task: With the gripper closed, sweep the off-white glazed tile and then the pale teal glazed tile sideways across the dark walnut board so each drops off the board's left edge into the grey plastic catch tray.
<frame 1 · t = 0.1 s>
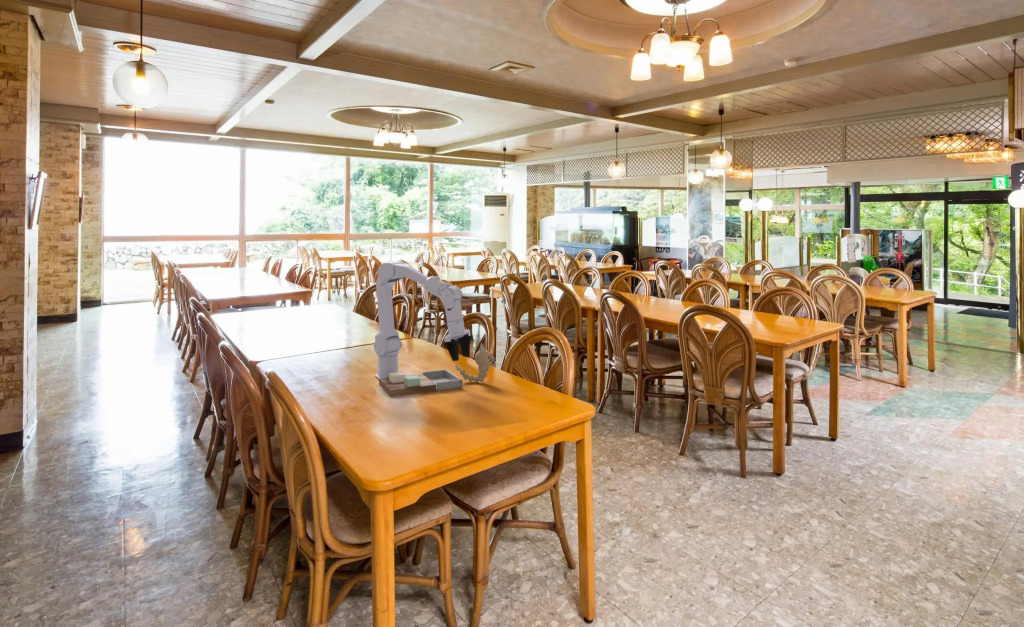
hand: (461, 358, 206), 11 cm above the table, tool pointing down, fingers open, 7 cm apart
tray: (442, 383, 212), on the table
board: (407, 387, 207), on the table
tile a: (397, 380, 207), point 2 cm above the table, touching board
tile b: (412, 384, 202), point 2 cm above the table, touching board
toy: (475, 383, 214), on the table
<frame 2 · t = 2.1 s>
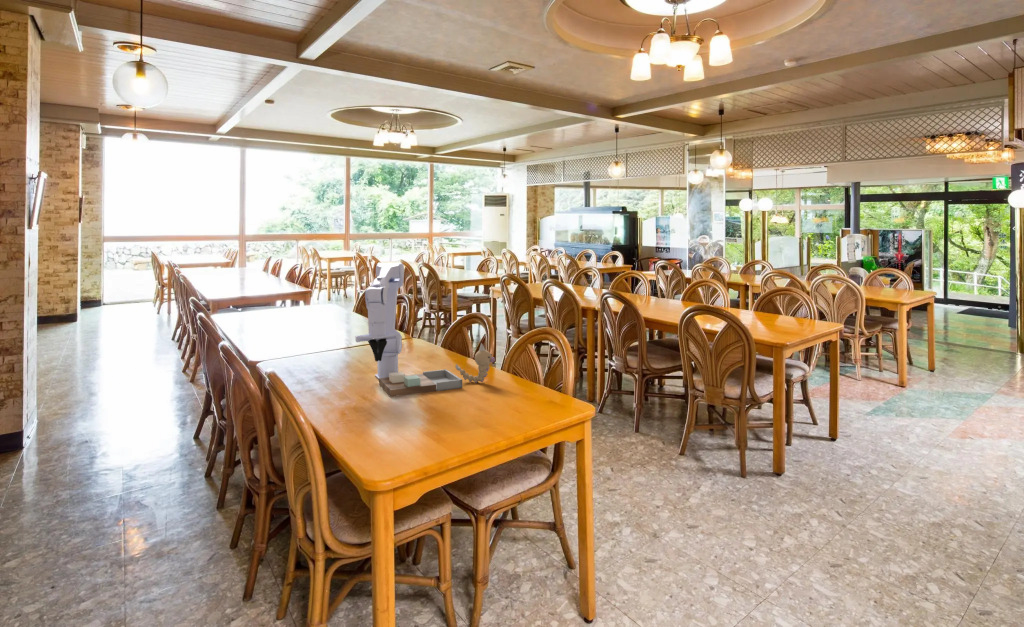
hand: (378, 360, 203), 10 cm above the table, tool pointing down, fingers closed
nothing on the table moved.
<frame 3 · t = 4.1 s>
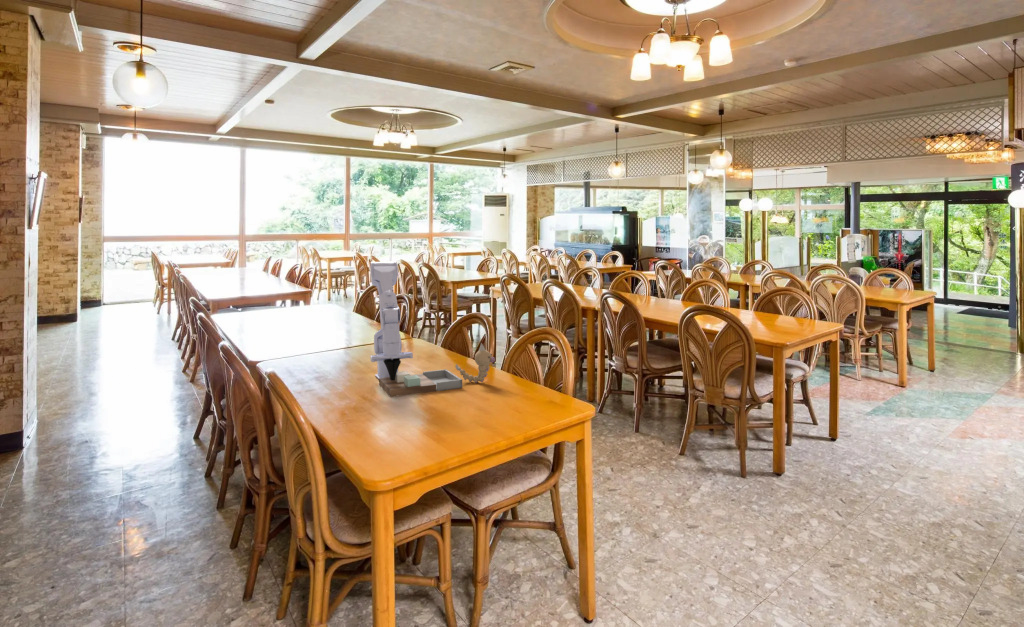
hand: (392, 379, 206), 3 cm above the table, tool pointing down, fingers closed
tile a: (402, 380, 208), point 2 cm above the table, touching gripper
everything else where it was.
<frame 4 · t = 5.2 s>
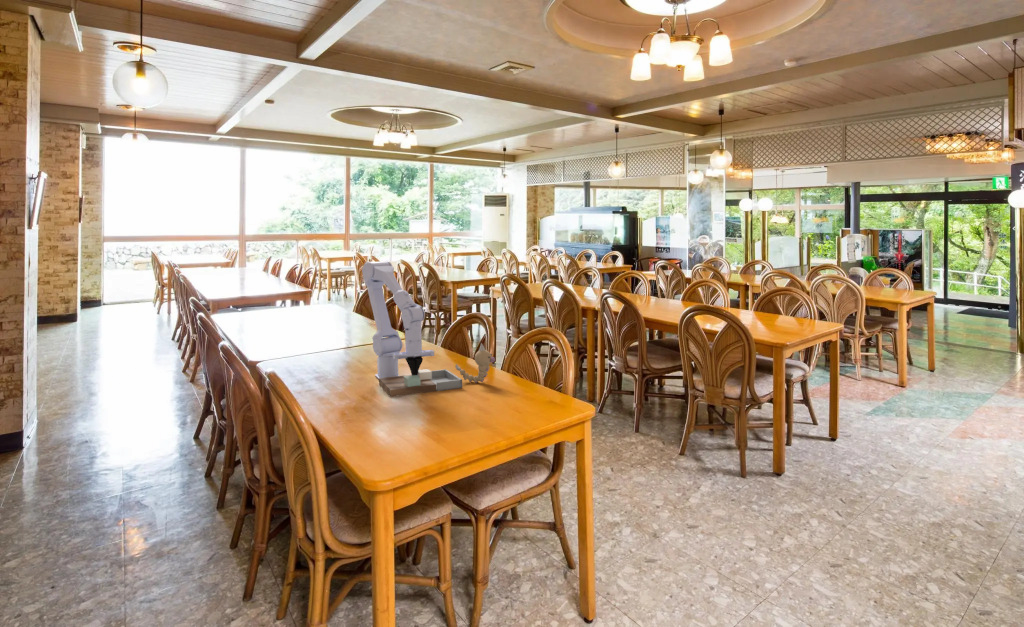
hand: (414, 377, 210), 3 cm above the table, tool pointing down, fingers closed
tile a: (423, 377, 211), point 2 cm above the table, touching gripper
everything else where it was.
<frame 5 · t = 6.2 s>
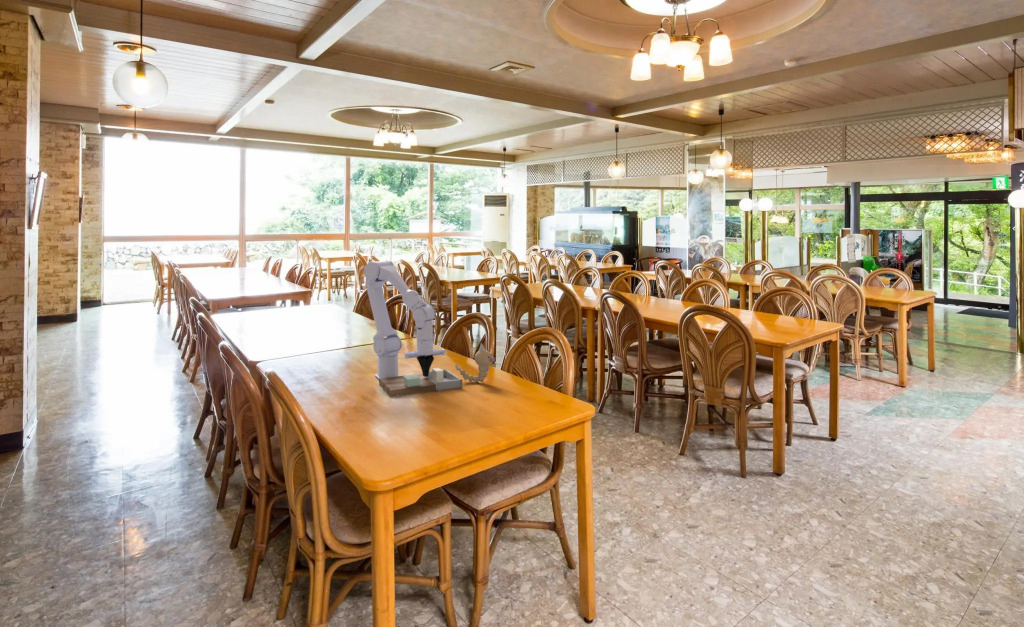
hand: (425, 376, 211), 3 cm above the table, tool pointing down, fingers closed
tile a: (434, 376, 213), point 3 cm above the table, tilted 90°, touching tray
everything else where it was.
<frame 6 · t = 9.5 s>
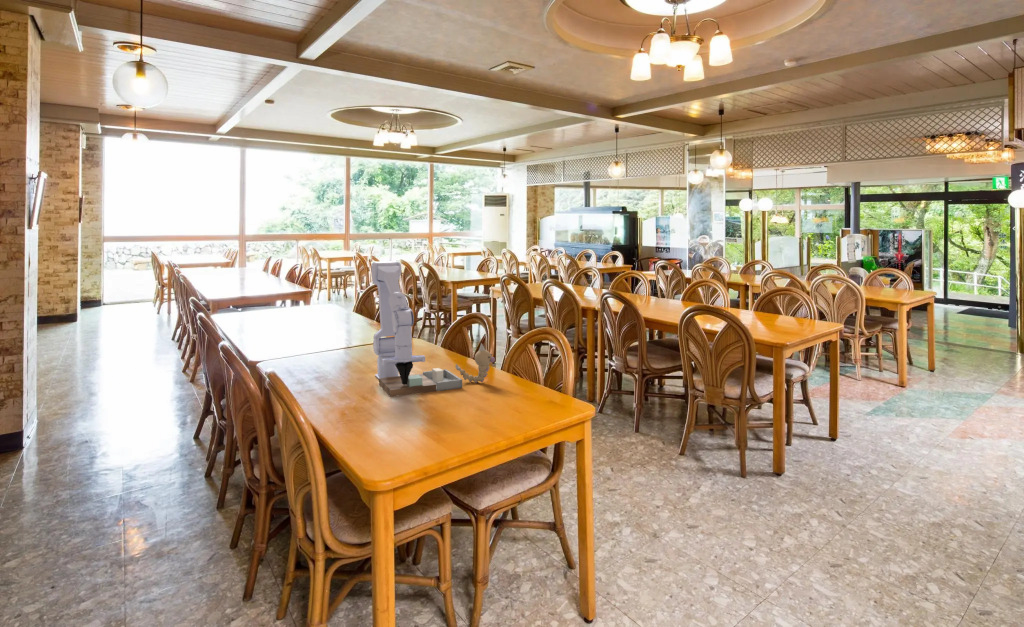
hand: (404, 383, 201), 3 cm above the table, tool pointing down, fingers closed
tile b: (414, 384, 203), point 2 cm above the table, touching gripper
everything else where it was.
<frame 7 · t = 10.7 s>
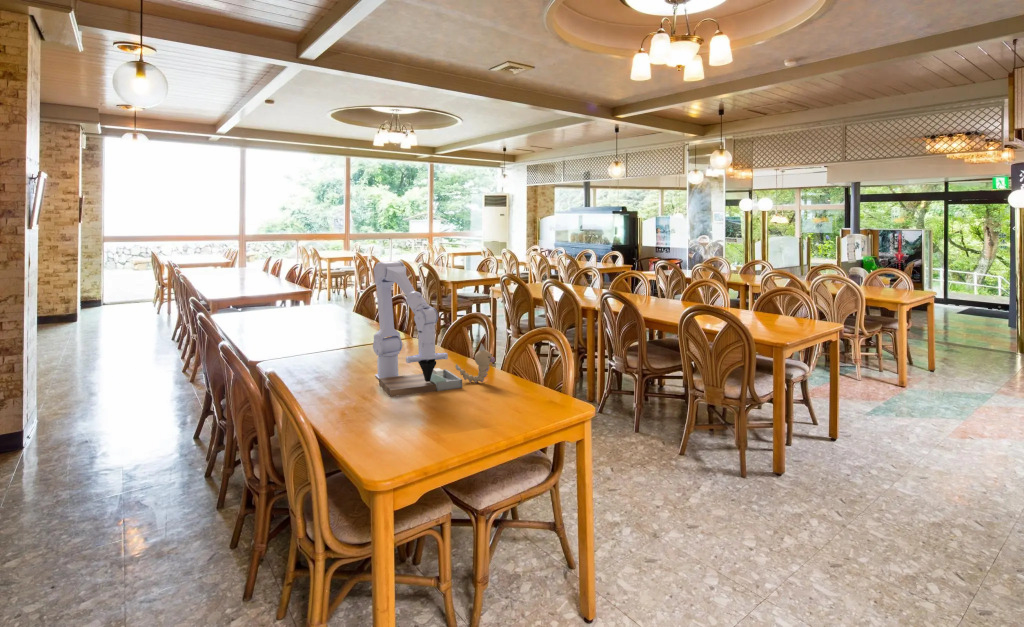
hand: (427, 380, 205), 3 cm above the table, tool pointing down, fingers closed
tile b: (435, 382, 206), point 2 cm above the table, tilted 29°
everything else where it was.
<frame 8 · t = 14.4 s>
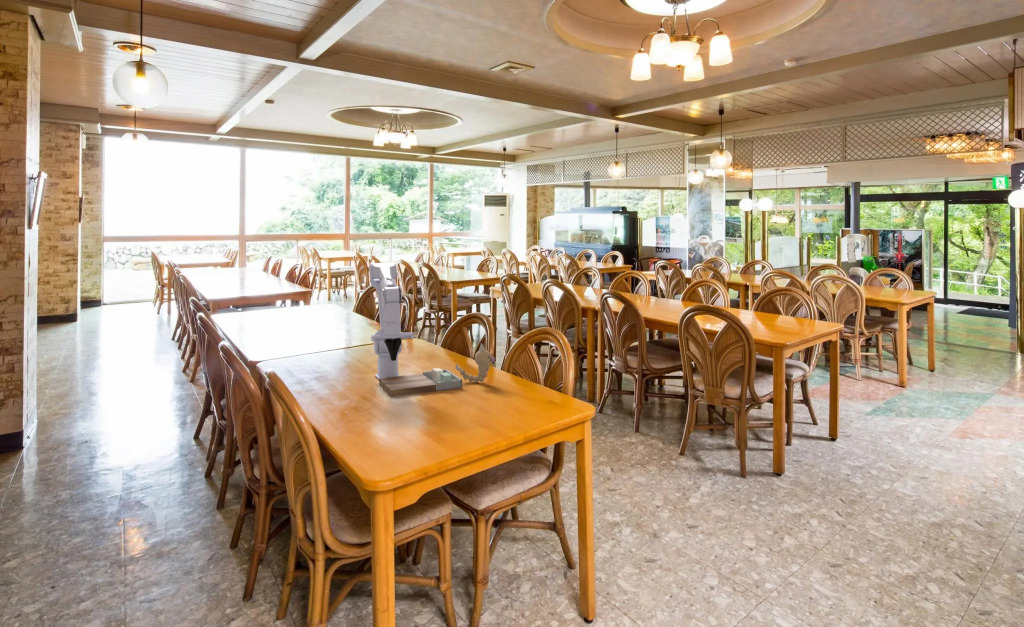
hand: (393, 360, 204), 10 cm above the table, tool pointing down, fingers closed
tile b: (442, 380, 207), point 3 cm above the table, tilted 90°, touching tray
everything else where it was.
at the end: tile a inside the target area (3.0 cm from its centre), point 2.6 cm above the table; tile b inside the target area (5.6 cm from its centre), point 2.6 cm above the table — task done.
